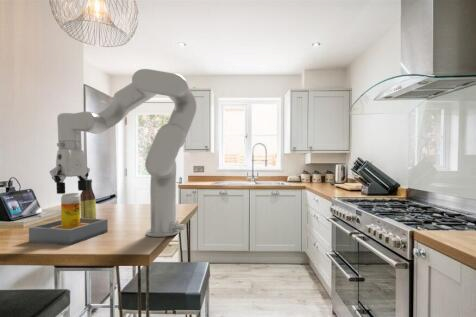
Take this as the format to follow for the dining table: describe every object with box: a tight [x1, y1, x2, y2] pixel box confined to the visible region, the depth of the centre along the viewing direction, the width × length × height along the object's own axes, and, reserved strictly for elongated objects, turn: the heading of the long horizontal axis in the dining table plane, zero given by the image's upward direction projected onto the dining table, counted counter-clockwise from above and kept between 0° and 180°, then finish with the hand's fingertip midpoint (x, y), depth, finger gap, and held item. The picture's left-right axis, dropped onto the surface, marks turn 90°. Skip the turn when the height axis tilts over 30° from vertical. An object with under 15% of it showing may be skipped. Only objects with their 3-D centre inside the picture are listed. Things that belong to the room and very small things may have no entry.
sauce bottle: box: [79, 178, 97, 219], centre depth 132 cm, size 7×6×20 cm
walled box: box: [28, 217, 109, 246], centre depth 107 cm, size 18×18×5 cm
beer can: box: [60, 192, 81, 229], centre depth 107 cm, size 6×6×15 cm
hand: (72, 191), depth 108 cm, fingers open, 9 cm apart
